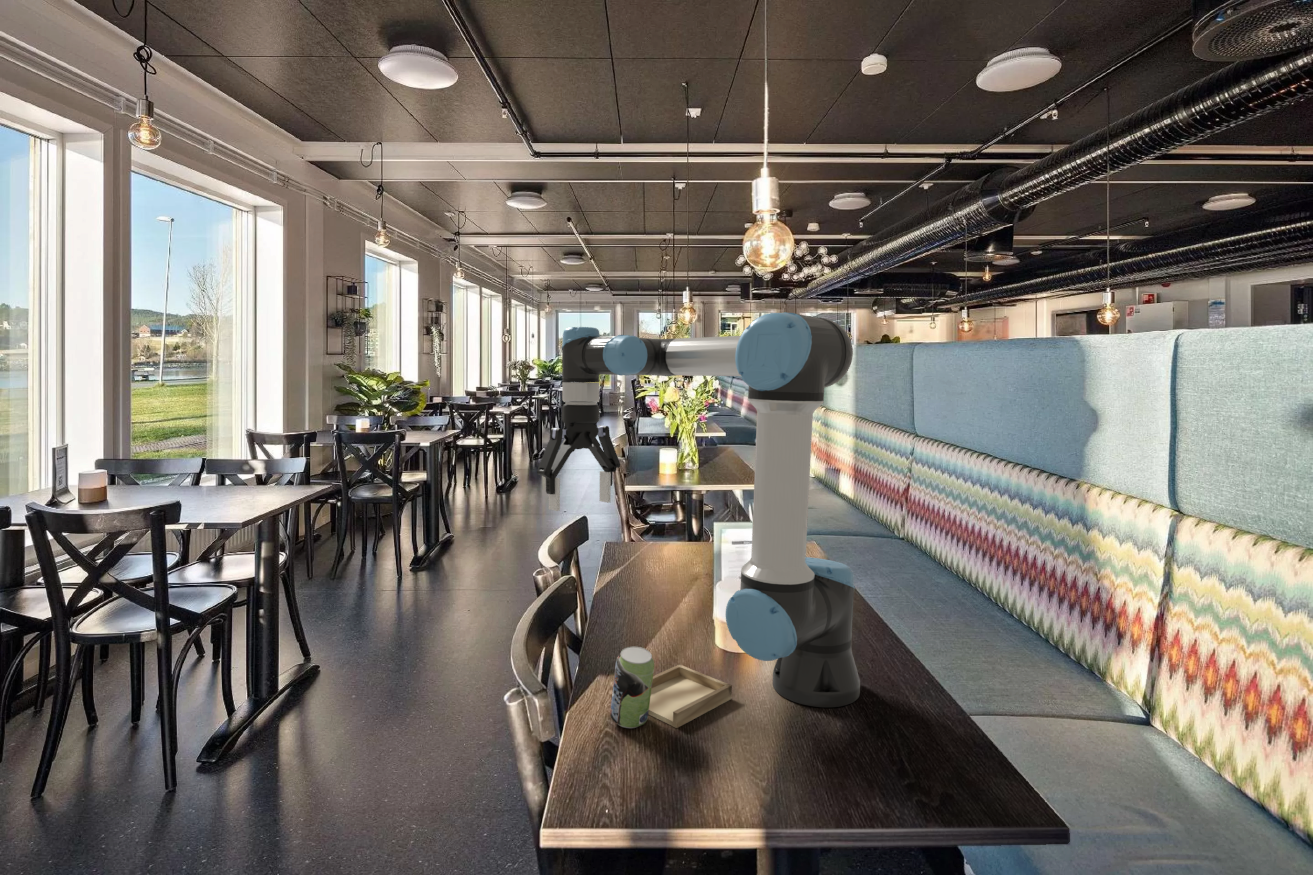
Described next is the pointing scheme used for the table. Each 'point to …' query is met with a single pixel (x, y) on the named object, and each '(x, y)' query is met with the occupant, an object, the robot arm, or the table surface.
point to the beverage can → (632, 687)
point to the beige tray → (685, 695)
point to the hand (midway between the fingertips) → (580, 505)
